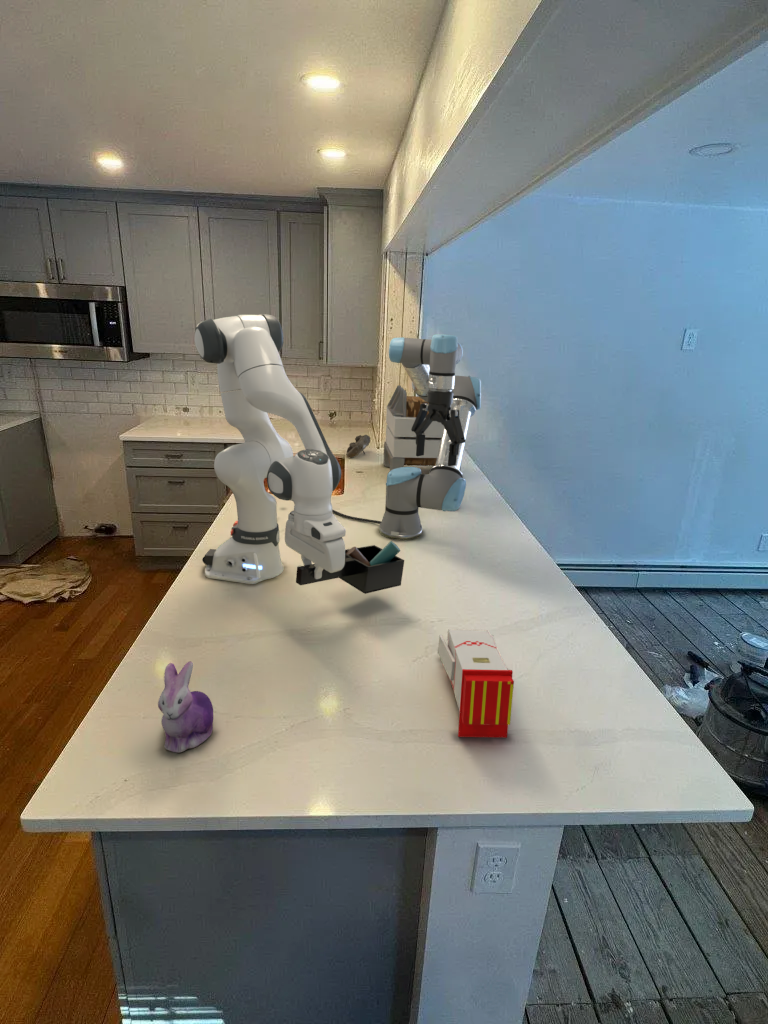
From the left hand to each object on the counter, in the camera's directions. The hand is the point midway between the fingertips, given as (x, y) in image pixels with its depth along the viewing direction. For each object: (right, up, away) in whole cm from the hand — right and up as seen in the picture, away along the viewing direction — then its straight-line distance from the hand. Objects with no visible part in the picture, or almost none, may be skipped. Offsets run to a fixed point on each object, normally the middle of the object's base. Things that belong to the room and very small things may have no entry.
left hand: (313, 575), depth 135 cm
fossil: (+3, +46, +170) cm, 176 cm away
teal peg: (+14, +1, +13) cm, 19 cm away
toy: (+35, -23, -17) cm, 45 cm away
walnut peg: (+13, -1, +13) cm, 19 cm away
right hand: (+33, +31, +37) cm, 59 cm away
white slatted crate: (+34, +34, +140) cm, 148 cm away
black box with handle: (+7, -4, +8) cm, 11 cm away
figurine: (-18, -26, -32) cm, 45 cm away
